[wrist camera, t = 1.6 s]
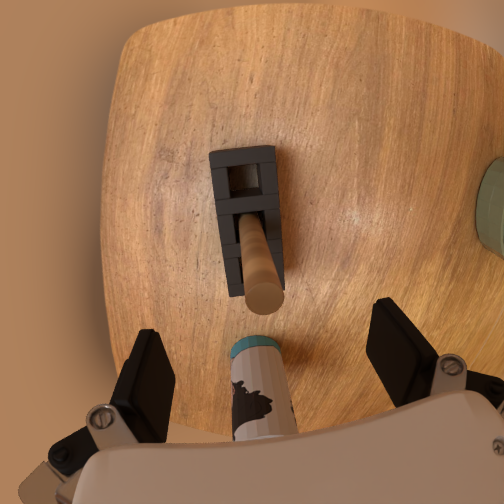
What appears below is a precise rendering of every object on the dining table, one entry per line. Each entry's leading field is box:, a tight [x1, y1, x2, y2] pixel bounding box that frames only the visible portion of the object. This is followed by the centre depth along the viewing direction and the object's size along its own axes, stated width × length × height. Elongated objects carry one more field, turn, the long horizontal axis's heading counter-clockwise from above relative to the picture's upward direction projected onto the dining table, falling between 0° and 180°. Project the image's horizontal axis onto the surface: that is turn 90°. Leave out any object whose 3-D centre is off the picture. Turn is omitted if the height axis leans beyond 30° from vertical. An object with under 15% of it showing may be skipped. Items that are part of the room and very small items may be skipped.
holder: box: [209, 145, 285, 297], centre depth 27 cm, size 14×6×4 cm, turn 5°
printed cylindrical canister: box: [230, 335, 298, 442], centre depth 29 cm, size 7×7×15 cm
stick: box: [238, 211, 284, 315], centre depth 22 cm, size 2×2×16 cm
